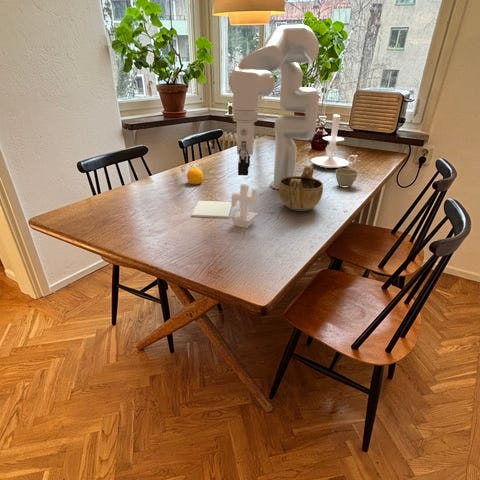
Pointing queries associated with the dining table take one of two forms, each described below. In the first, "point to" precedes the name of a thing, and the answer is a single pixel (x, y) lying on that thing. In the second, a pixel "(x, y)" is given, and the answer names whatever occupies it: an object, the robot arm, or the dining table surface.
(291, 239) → the dining table surface
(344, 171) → the flower pot
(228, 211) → the cream board
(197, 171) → the apple
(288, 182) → the tan round basket
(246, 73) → the robot arm
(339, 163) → the candlestick
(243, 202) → the figurine
